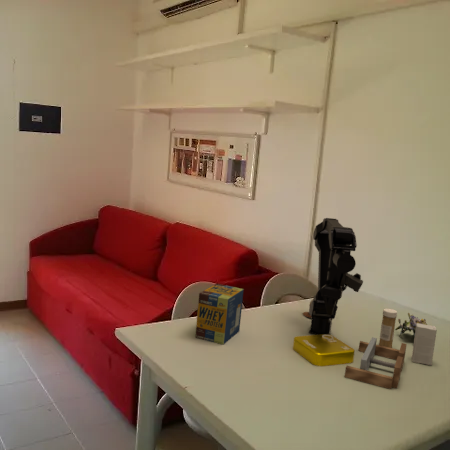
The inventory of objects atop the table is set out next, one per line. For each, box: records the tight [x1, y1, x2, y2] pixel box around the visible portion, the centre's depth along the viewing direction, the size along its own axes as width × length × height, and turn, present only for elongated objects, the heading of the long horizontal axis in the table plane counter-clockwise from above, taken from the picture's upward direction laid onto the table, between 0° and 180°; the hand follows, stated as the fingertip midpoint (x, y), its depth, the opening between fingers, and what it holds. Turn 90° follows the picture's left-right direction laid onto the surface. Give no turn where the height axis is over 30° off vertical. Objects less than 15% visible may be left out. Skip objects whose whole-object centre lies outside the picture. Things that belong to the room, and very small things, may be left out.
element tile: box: [292, 333, 355, 367], centre depth 159 cm, size 15×15×5 cm
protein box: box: [195, 283, 245, 345], centre depth 168 cm, size 10×15×16 cm
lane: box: [344, 340, 407, 390], centre depth 152 cm, size 14×25×6 cm, turn 155°
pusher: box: [359, 336, 396, 371], centre depth 151 cm, size 10×21×6 cm, turn 155°
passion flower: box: [394, 312, 428, 338], centre depth 181 cm, size 11×11×12 cm
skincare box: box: [411, 323, 437, 366], centre depth 160 cm, size 6×4×12 cm
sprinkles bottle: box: [378, 308, 398, 348], centre depth 170 cm, size 5×5×14 cm
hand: (332, 311), depth 164 cm, fingers open, 9 cm apart
